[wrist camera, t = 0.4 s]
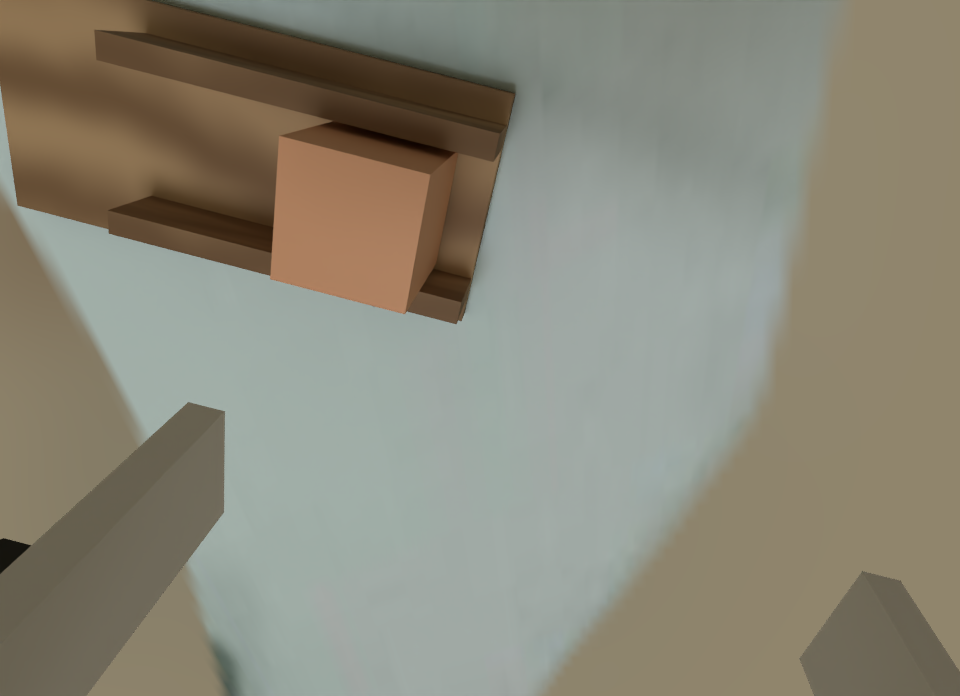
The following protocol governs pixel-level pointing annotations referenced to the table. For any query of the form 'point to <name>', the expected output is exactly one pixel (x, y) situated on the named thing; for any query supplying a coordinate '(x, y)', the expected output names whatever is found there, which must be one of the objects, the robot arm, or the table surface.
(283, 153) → the block
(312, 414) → the table surface
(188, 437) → the robot arm
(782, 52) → the table surface
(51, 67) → the chute
